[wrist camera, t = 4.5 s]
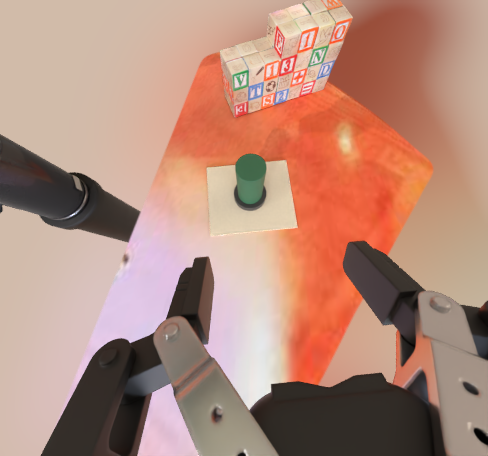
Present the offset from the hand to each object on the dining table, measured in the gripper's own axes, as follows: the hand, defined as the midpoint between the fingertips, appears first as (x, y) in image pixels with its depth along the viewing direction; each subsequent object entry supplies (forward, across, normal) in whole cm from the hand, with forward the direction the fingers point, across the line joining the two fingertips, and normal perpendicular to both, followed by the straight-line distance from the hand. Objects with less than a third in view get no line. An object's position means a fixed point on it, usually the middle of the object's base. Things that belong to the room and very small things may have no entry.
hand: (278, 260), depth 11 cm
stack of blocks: (+43, +8, +11) cm, 45 cm away
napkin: (+26, 0, -6) cm, 27 cm away
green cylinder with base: (+26, 0, -6) cm, 26 cm away
